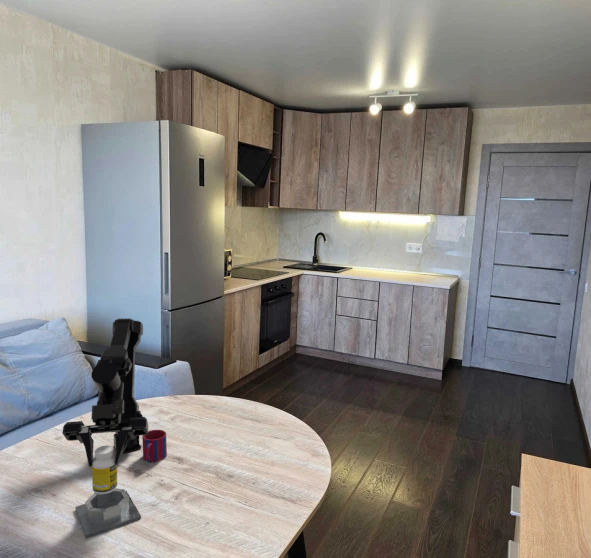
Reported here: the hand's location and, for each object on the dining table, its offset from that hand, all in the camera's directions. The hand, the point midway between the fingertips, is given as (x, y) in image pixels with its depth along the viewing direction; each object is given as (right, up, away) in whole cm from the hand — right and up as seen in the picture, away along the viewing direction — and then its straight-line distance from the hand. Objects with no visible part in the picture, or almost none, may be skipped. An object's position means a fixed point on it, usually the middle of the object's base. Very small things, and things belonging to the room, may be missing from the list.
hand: (103, 465), depth 107 cm
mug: (+3, -10, +28) cm, 30 cm away
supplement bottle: (0, -7, +2) cm, 7 cm away
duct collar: (0, -13, +3) cm, 13 cm away
